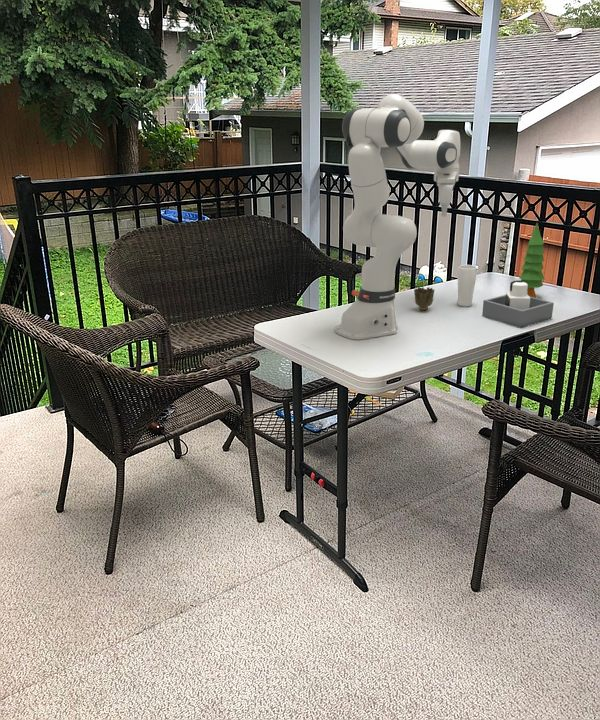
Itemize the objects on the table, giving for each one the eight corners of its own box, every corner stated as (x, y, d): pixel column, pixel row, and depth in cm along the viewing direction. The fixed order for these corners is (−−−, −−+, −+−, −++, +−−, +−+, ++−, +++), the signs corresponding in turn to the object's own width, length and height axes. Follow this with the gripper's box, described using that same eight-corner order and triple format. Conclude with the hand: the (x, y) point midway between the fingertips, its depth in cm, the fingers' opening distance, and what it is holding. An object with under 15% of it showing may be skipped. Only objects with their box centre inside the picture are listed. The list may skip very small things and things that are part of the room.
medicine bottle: (504, 310, 233) (507, 279, 229) (524, 311, 232) (527, 279, 228) (507, 316, 226) (511, 284, 222) (528, 317, 226) (532, 284, 221)
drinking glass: (475, 307, 241) (478, 268, 236) (457, 307, 241) (460, 269, 236) (471, 302, 247) (474, 264, 242) (454, 302, 248) (456, 264, 242)
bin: (520, 328, 218) (522, 311, 216) (482, 316, 231) (483, 300, 229) (551, 318, 226) (553, 302, 224) (512, 307, 240) (514, 292, 237)
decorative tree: (518, 300, 249) (527, 223, 238) (514, 293, 257) (522, 219, 246) (544, 300, 247) (554, 223, 236) (538, 294, 256) (548, 219, 245)
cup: (411, 312, 237) (412, 291, 235) (414, 306, 244) (415, 286, 241) (431, 313, 235) (433, 292, 232) (434, 307, 242) (435, 287, 239)
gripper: (437, 173, 243) (435, 210, 248) (437, 179, 224) (435, 218, 230) (454, 173, 242) (452, 210, 247) (455, 179, 223) (452, 218, 228)
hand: (443, 214), depth 238 cm, fingers open, 8 cm apart
